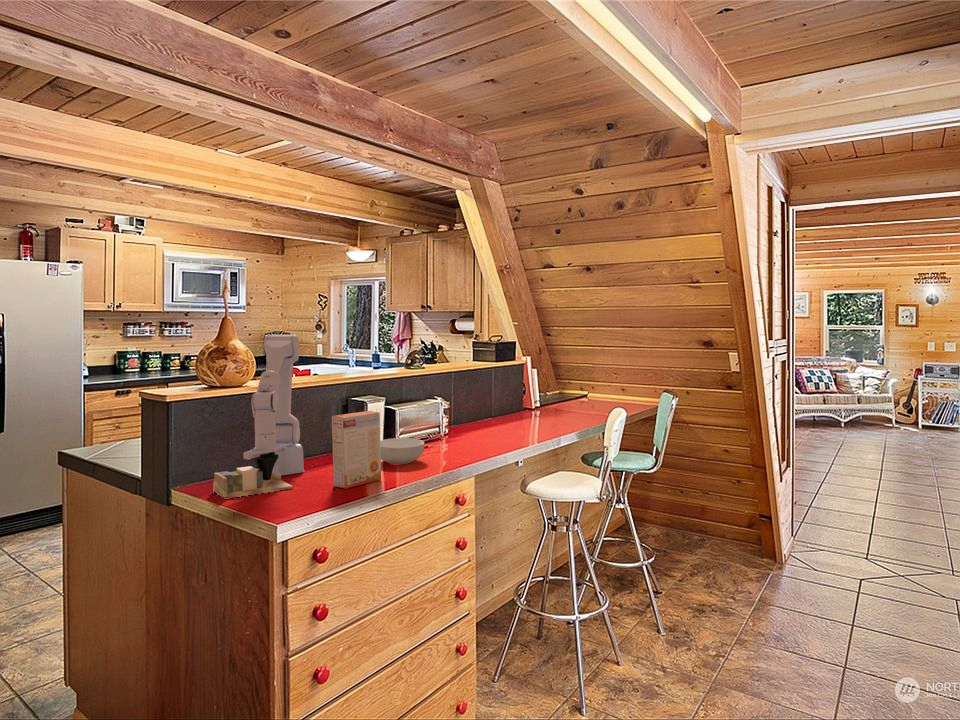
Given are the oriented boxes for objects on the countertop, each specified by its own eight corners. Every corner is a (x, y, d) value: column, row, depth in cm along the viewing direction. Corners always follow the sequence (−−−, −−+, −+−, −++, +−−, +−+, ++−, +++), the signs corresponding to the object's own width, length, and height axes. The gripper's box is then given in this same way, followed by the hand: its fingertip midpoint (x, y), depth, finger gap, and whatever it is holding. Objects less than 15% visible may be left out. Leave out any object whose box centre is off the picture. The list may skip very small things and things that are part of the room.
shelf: (279, 482, 191) (279, 462, 191) (292, 488, 183) (292, 468, 183) (213, 492, 179) (213, 472, 179) (224, 499, 171) (224, 478, 171)
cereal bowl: (364, 464, 215) (364, 444, 214) (393, 456, 229) (393, 436, 229) (406, 470, 207) (406, 448, 206) (433, 460, 222) (433, 440, 221)
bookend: (256, 483, 185) (255, 468, 185) (262, 486, 181) (262, 471, 181) (251, 483, 184) (250, 468, 184) (257, 487, 180) (257, 472, 180)
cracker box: (368, 477, 197) (368, 410, 196) (382, 480, 193) (381, 411, 192) (331, 486, 186) (330, 415, 185) (345, 489, 182) (344, 416, 181)
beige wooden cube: (251, 484, 184) (250, 466, 184) (257, 488, 180) (256, 469, 180) (236, 487, 182) (236, 468, 182) (242, 490, 178) (242, 471, 178)
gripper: (274, 428, 192) (274, 473, 193) (235, 435, 179) (236, 483, 180) (291, 430, 189) (292, 475, 189) (253, 437, 176) (254, 486, 176)
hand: (266, 479), depth 184 cm, fingers closed
